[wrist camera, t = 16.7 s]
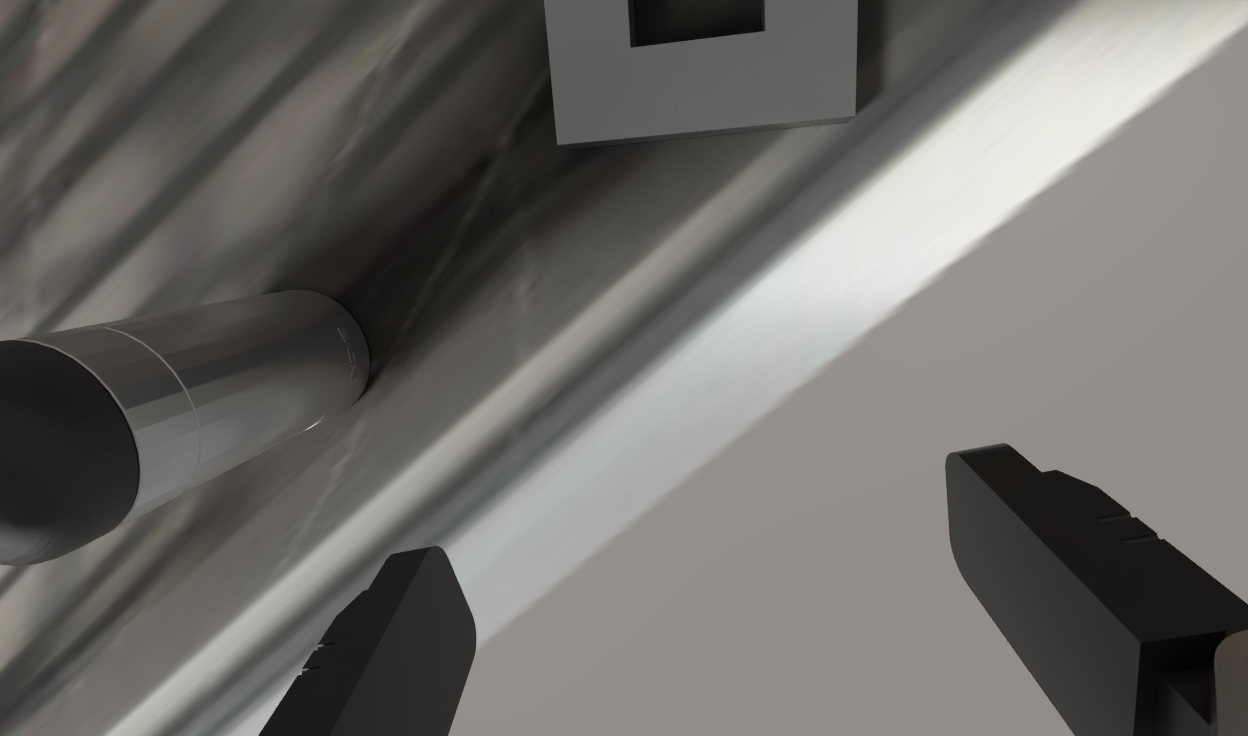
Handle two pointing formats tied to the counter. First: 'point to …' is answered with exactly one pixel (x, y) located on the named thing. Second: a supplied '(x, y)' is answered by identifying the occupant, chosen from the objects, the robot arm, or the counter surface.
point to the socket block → (698, 74)
